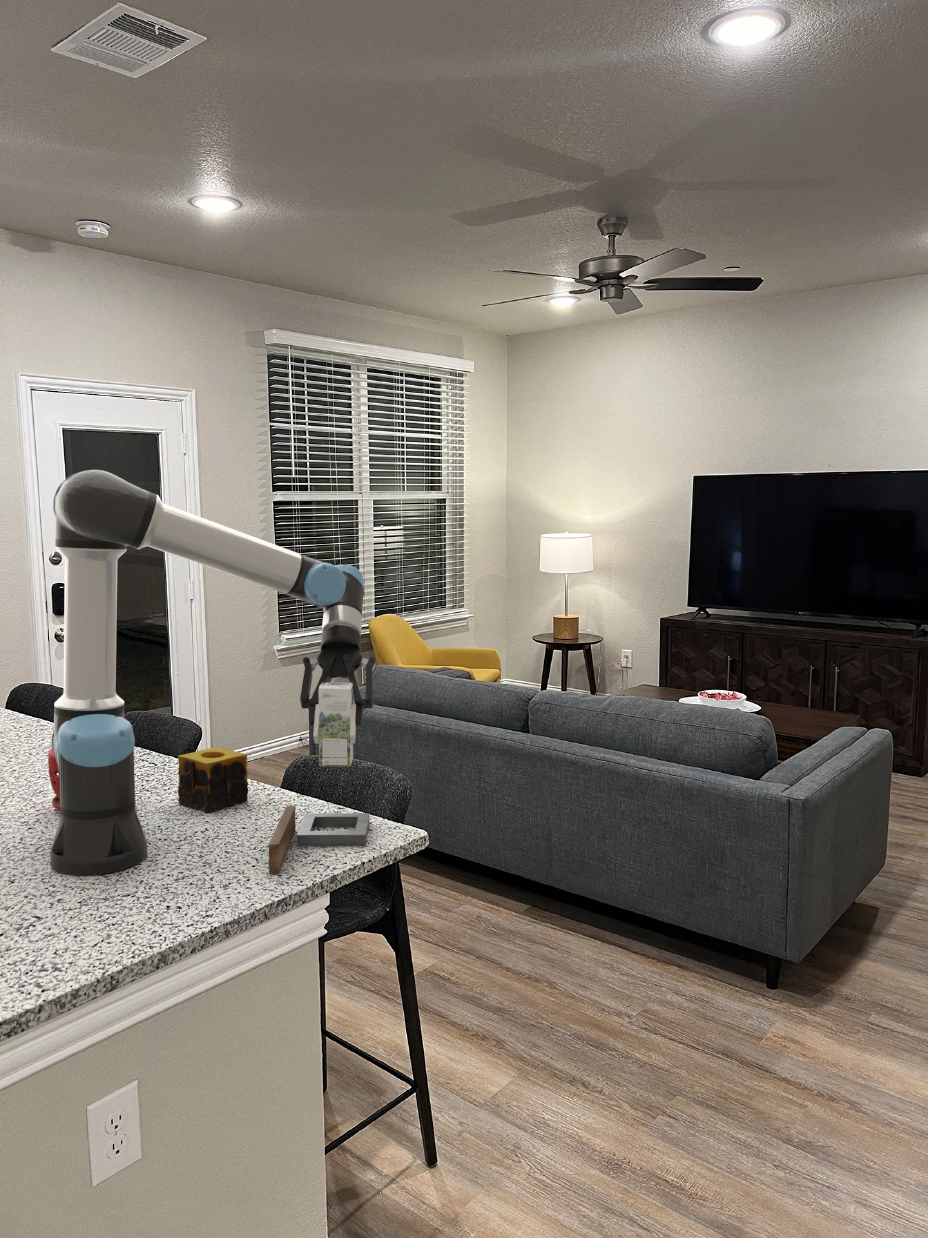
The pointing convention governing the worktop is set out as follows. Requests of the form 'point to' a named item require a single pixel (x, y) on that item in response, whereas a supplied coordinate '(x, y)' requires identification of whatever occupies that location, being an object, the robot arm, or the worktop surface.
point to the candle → (212, 779)
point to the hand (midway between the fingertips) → (334, 739)
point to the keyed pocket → (333, 838)
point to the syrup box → (335, 724)
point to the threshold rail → (281, 840)
